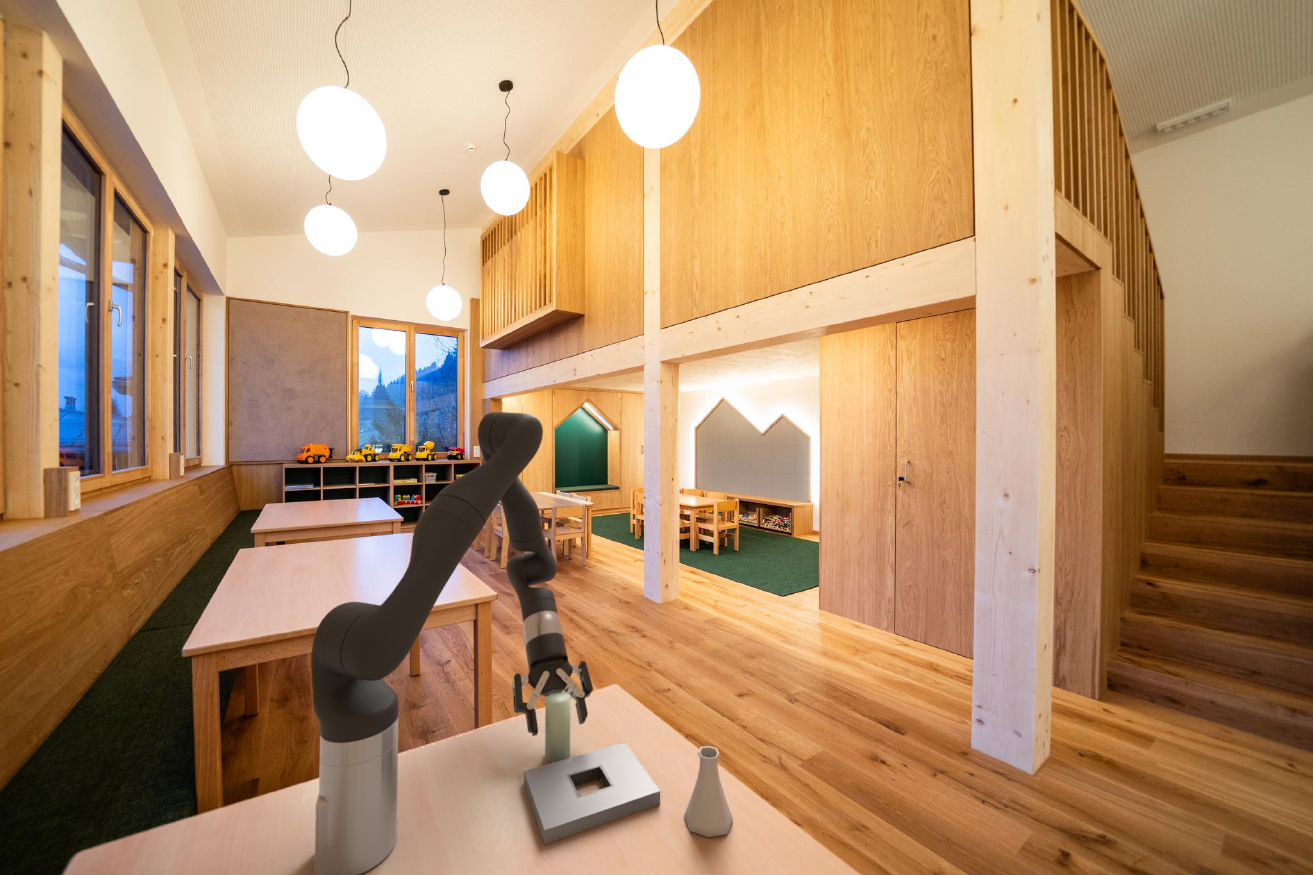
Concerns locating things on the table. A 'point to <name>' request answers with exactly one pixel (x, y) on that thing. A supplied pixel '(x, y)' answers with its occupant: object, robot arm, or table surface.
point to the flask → (708, 798)
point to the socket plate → (573, 813)
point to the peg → (557, 727)
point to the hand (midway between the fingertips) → (559, 728)
